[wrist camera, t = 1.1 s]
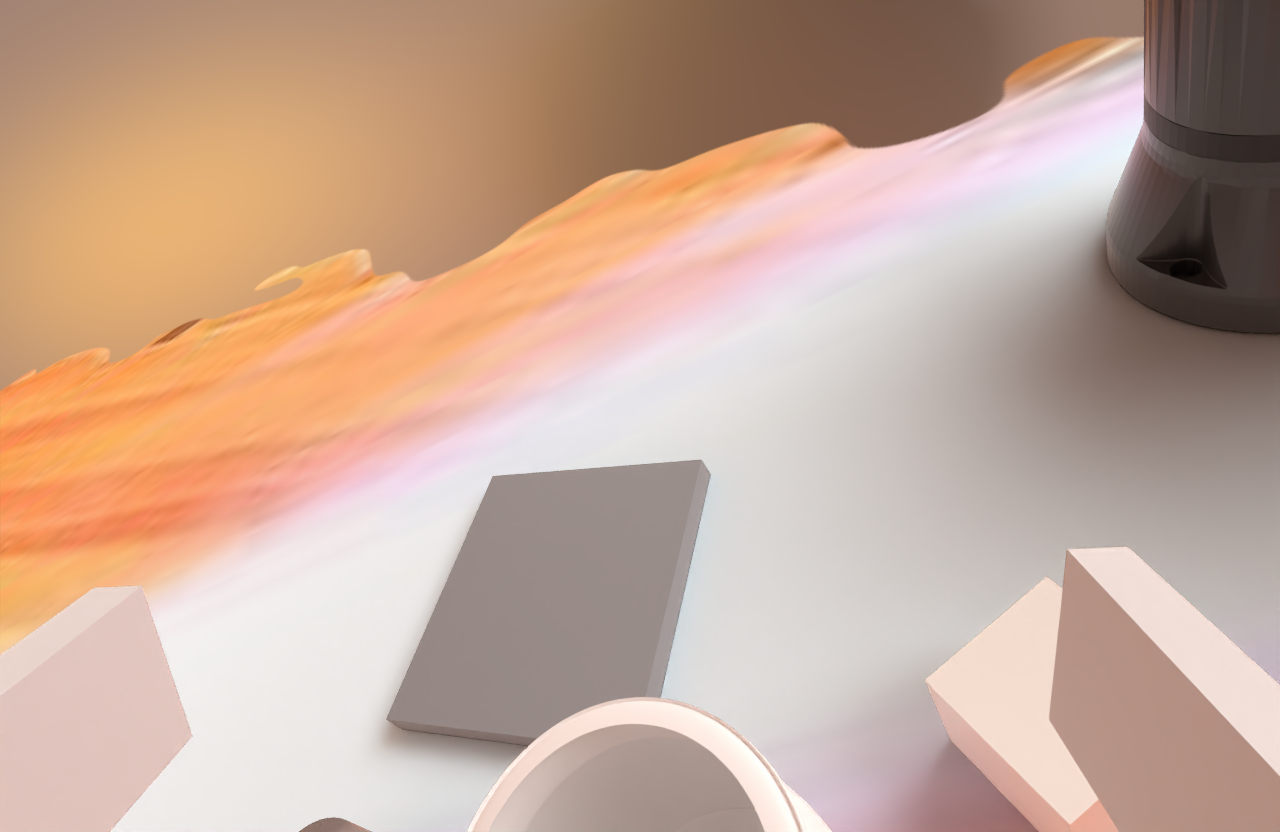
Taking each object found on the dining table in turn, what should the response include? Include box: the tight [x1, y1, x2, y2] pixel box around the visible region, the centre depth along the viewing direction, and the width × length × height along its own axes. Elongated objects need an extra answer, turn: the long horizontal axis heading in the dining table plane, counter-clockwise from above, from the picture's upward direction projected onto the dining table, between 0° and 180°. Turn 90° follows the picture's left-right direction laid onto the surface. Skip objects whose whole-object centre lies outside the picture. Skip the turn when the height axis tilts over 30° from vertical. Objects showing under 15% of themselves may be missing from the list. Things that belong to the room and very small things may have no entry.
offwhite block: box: [925, 576, 1119, 832], centre depth 28 cm, size 6×6×6 cm
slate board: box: [387, 460, 710, 746], centre depth 45 cm, size 16×17×2 cm
